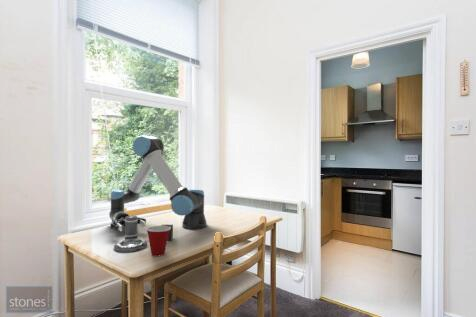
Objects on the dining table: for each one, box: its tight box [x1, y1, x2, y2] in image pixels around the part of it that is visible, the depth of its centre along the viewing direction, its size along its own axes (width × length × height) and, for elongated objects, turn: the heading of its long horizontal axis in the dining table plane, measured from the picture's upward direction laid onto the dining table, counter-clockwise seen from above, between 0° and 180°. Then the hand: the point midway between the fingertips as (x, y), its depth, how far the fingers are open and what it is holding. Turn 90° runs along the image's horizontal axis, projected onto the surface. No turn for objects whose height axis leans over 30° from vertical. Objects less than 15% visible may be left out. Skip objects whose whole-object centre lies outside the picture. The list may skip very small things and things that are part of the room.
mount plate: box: [113, 238, 148, 253], centre depth 125 cm, size 15×15×2 cm
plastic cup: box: [145, 225, 171, 257], centre depth 117 cm, size 11×11×12 cm
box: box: [160, 224, 174, 242], centre depth 136 cm, size 6×6×7 cm
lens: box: [124, 215, 138, 240], centre depth 139 cm, size 6×6×11 cm
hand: (133, 226), depth 136 cm, fingers open, 11 cm apart
